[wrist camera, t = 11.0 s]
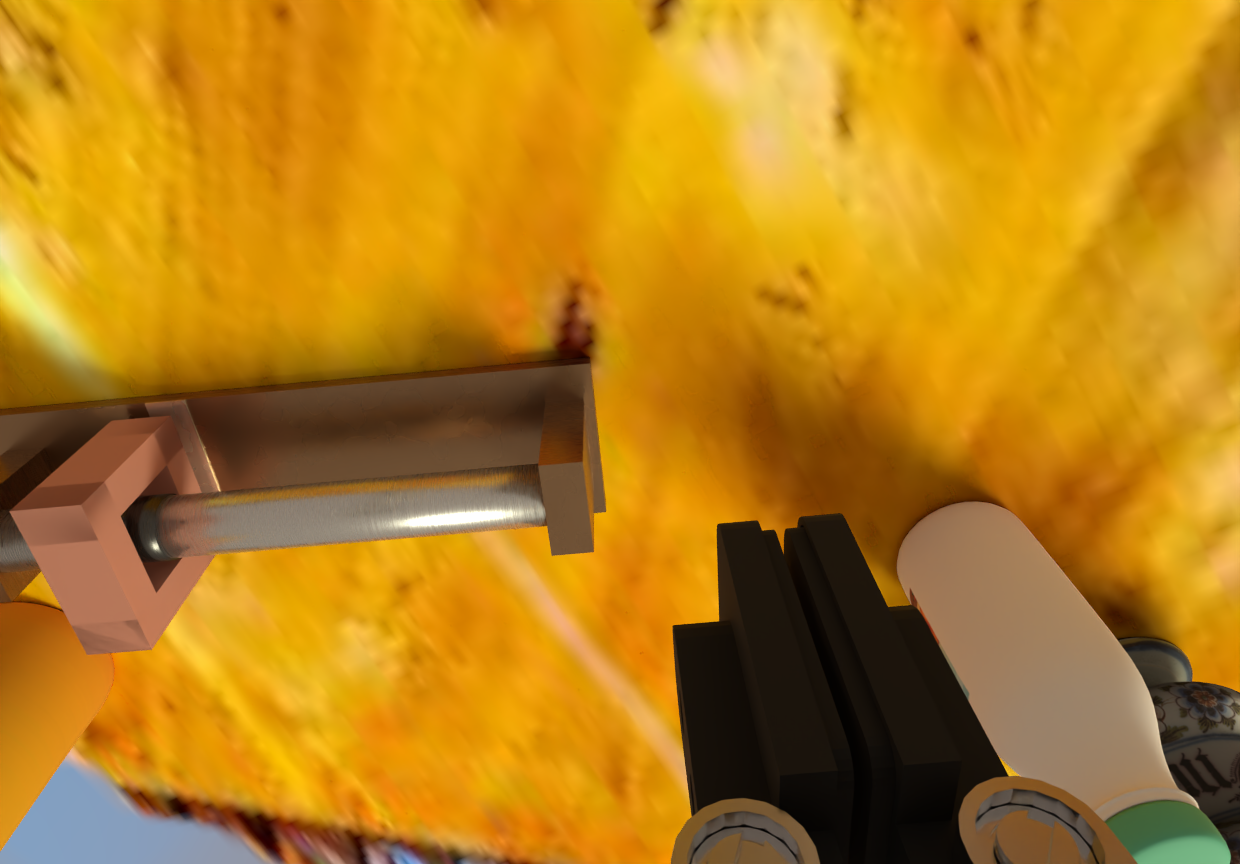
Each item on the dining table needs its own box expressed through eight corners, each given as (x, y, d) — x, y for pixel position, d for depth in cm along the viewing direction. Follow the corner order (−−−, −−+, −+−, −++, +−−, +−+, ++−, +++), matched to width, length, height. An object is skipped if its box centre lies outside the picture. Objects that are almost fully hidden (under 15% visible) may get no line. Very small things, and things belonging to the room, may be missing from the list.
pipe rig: (-11, 410, 41) (-119, 484, 35) (589, 357, 41) (589, 422, 35) (62, 550, 45) (-22, 638, 39) (605, 503, 45) (608, 585, 39)
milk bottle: (883, 517, 46) (1061, 837, 29) (1018, 480, 45) (1289, 788, 28) (902, 614, 50) (1072, 952, 32) (1028, 582, 49) (1273, 911, 31)
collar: (111, 420, 40) (8, 511, 33) (170, 415, 40) (81, 505, 33) (168, 549, 44) (87, 655, 37) (222, 544, 44) (151, 649, 37)
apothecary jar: (1001, 752, 56) (1161, 1048, 40) (1054, 621, 50) (1265, 906, 35) (1167, 753, 57) (1389, 1045, 41) (1238, 624, 51) (1528, 906, 35)
